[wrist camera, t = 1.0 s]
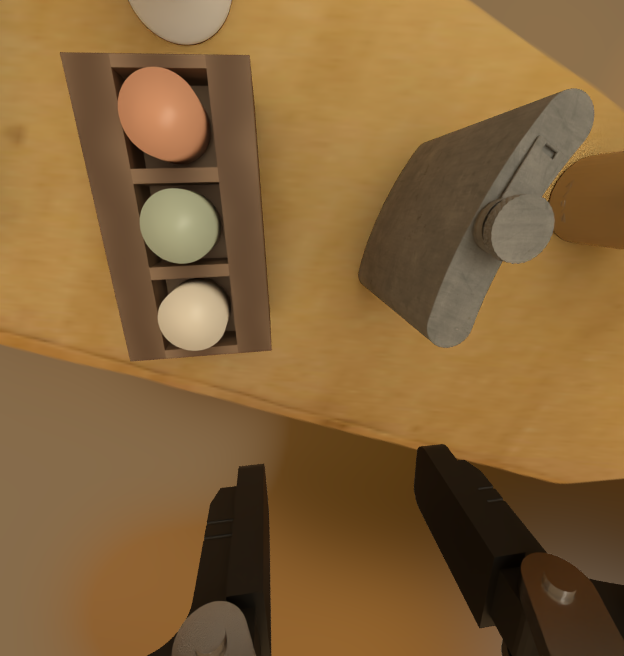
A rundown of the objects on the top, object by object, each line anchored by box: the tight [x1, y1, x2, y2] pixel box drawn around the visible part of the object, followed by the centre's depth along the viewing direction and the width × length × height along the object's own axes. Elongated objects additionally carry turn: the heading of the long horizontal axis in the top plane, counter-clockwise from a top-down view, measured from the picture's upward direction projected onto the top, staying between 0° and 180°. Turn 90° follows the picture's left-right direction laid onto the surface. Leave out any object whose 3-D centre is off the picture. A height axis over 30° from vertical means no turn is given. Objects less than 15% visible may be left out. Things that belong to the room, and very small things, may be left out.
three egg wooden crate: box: [60, 52, 272, 361], centre depth 30 cm, size 11×20×11 cm, turn 1°
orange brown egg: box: [118, 67, 211, 165], centre depth 23 cm, size 5×5×4 cm
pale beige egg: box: [158, 278, 231, 351], centre depth 27 cm, size 5×5×4 cm
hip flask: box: [358, 89, 594, 348], centre depth 28 cm, size 16×4×20 cm, turn 156°
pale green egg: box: [140, 188, 221, 264], centre depth 25 cm, size 5×5×4 cm
